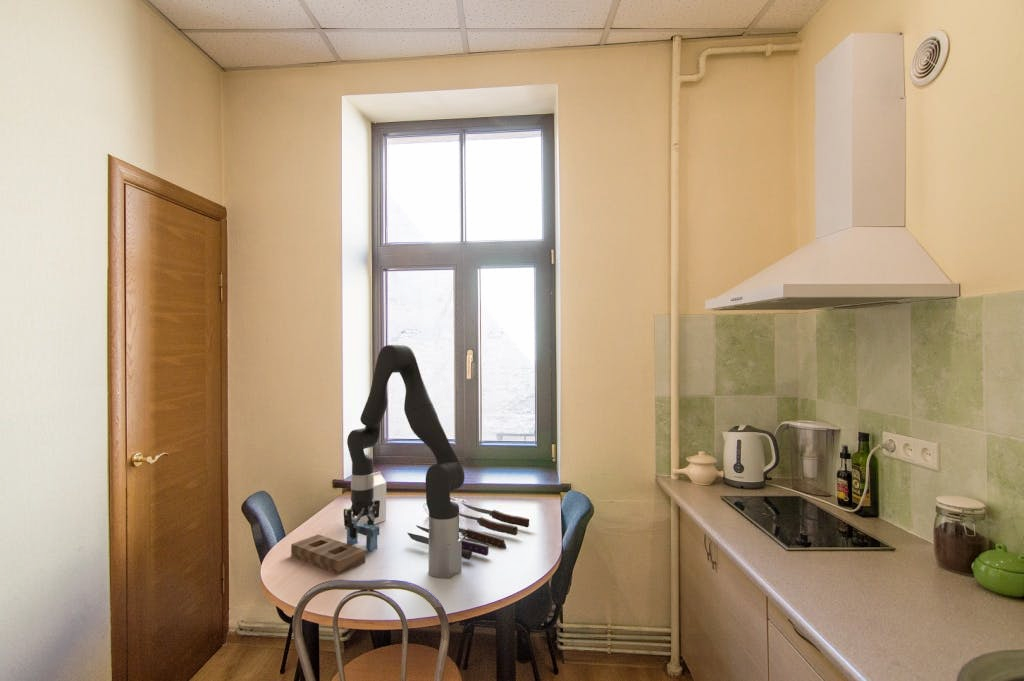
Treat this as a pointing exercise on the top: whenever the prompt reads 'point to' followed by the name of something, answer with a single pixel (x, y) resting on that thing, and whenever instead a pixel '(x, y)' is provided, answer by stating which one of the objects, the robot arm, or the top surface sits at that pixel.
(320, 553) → the socket block
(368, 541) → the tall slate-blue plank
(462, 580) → the top surface
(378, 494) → the milk carton
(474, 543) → the knife set
